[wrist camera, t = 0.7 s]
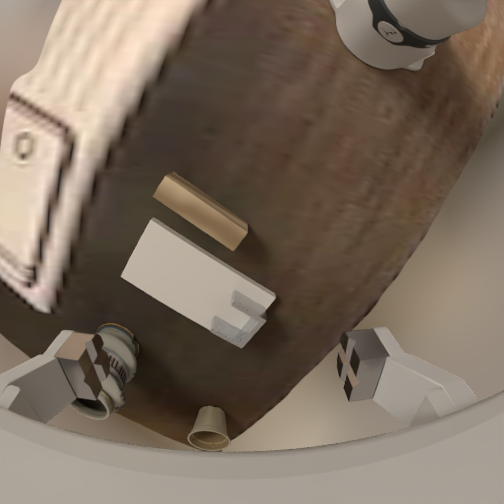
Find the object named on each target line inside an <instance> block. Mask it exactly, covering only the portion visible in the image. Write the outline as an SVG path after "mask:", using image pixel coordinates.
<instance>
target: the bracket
mask: <svg viewBox="0 0 504 504" xmlns="http://www.w3.org/2000/svg"><path fill="white" fill-rule="evenodd" d="M121 277H122V278H124V279H125V280H127V281H129V282H130V283H132V284H133V285H135V286H136V287H138V288H139V289H141V290H143V291H144V292H146V293H147V294H149V295H151V296H152V297H154V298H156V299H157V300H159V301H160V302H162V303H164V304H165V305H167V306H169V307H170V308H172V309H174V310H176V311H177V312H179V313H181V314H182V315H184V316H186V317H188V318H189V319H191V320H193V321H195V322H196V323H198V324H200V325H202V326H203V327H205V328H207V329H209V330H210V332H212V333H214V334H215V335H217V336H219V337H221V338H223V339H225V340H227V341H229V342H230V343H232V344H234V345H236V346H238V347H240V348H243V347H244V346H245V344H246V343H247V342H248V341H249V340H250V339H251V338H252V337H253V335H254V334H255V333H256V332H257V331H258V330H259V329H260V328H261V326H262V325H263V324H264V323H265V322H266V321H267V320H266V309H267V308H268V307H269V306H270V304H271V303H272V302H273V301H274V300H275V299H276V296H275V293H273V292H272V291H270V290H268V289H267V288H265V287H263V286H262V285H260V284H258V283H257V282H255V281H254V280H252V279H250V278H249V277H247V276H246V275H244V274H242V273H241V272H239V271H237V270H236V269H234V268H233V267H231V266H229V265H228V264H226V263H225V262H223V261H221V260H220V259H218V258H217V257H215V256H213V255H212V254H210V253H209V252H207V251H206V250H204V249H202V248H201V247H199V246H198V245H196V244H195V243H193V242H191V241H190V240H188V239H187V238H185V237H184V236H182V235H180V234H179V233H177V232H176V231H174V230H173V229H171V228H169V227H168V226H166V225H165V224H163V223H162V222H160V221H159V220H157V219H156V218H154V217H153V218H152V219H151V220H150V222H149V224H148V226H147V227H146V229H145V231H144V233H143V235H142V236H141V238H140V240H139V242H138V244H137V246H136V248H135V250H134V251H133V253H132V255H131V257H130V259H129V261H128V263H127V265H126V267H125V269H124V271H123V273H122V275H121Z"/></svg>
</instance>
